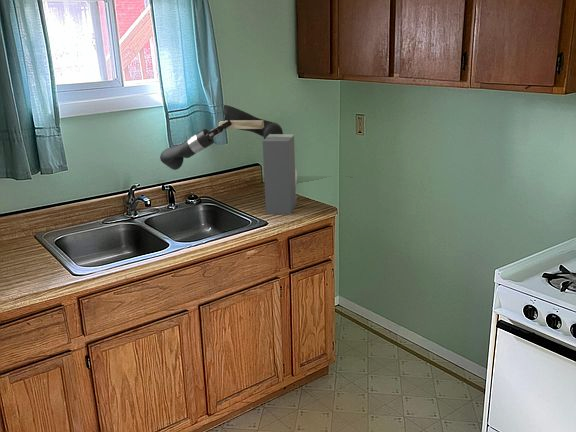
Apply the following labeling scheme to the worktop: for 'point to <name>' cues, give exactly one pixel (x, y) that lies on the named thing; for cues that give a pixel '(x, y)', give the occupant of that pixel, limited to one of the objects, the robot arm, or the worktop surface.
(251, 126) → the birch slat
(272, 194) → the tall grey upright prism
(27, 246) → the worktop surface
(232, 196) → the worktop surface
